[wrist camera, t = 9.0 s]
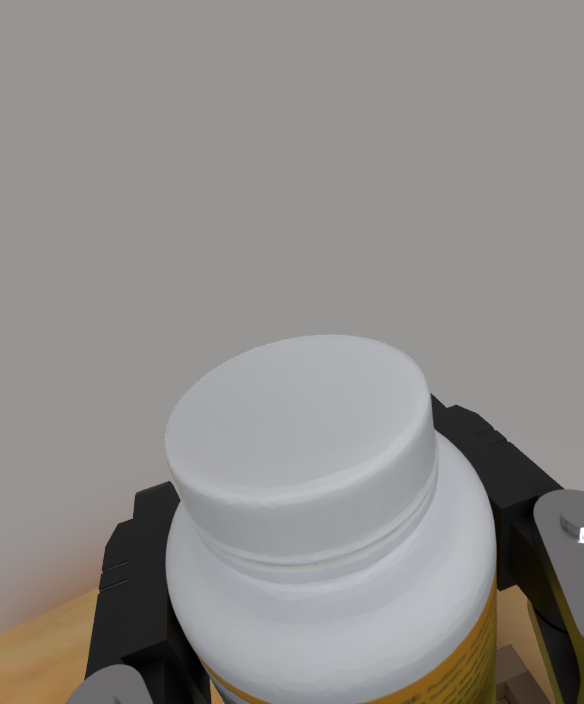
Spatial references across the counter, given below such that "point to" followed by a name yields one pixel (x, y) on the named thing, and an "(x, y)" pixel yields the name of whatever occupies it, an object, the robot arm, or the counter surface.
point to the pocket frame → (516, 679)
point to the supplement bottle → (329, 532)
